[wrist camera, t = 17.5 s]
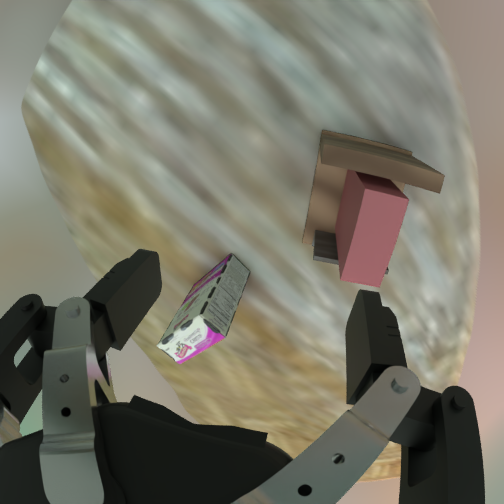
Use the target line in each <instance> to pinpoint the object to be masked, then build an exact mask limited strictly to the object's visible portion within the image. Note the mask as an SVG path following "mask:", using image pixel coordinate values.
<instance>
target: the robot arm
mask: <svg viewBox="0 0 504 504" xmlns="http://www.w3.org/2000/svg"><path fill="white" fill-rule="evenodd" d="M161 288H162V280H161V272H160V263H159V255H158V253H157V252H154V251H149V250H144V249H138V250H137V251H136V252H135V253H134V254H133V255H132V256H131V257H130V258H126V259H124V260H123V261H121V262H119V263H117V264H116V265H115V266H114V267H113V268H112V269H111V270H110V271H109V272H108V273H107V274H106V275H105V276H104V278H102V279H101V280H100V281H99V282H98V283H97V284H96V285H95V286H94V287H93V288H92V289H91V290H90V291H89V292H88V293H87V294H86V295H85V296H84V297H83V298H81V297H73V298H69V299H66V300H65V301H63V302H62V303H60V305H59V306H58V307H51V306H44V304H43V301H42V299H41V297H40V296H39V295H37V294H29V295H25V296H23V297H22V298H20V299H19V300H18V301H17V302H16V303H15V304H14V305H13V306H12V307H11V308H10V309H9V310H8V311H7V312H6V313H5V314H4V316H3V317H2V318H1V319H0V504H336V503H337V502H338V501H339V500H340V499H341V497H343V496H344V495H345V493H346V492H347V491H348V490H349V489H350V488H351V487H352V486H353V485H354V484H355V483H356V482H357V481H358V480H359V478H360V477H361V476H362V475H363V474H364V473H365V472H366V470H367V469H368V468H369V467H370V466H371V465H372V463H373V462H374V461H375V460H376V458H377V457H378V456H379V455H380V453H381V452H382V451H383V450H384V448H385V447H386V446H387V444H388V443H389V441H392V442H395V443H398V444H401V478H400V479H401V480H400V494H399V504H485V487H484V469H483V459H482V449H481V443H480V435H479V428H478V422H477V417H476V411H475V406H474V402H473V399H472V397H471V395H470V394H469V393H468V392H467V391H466V390H465V389H463V388H461V387H459V386H450V387H448V388H446V389H445V390H444V391H443V393H442V394H441V393H438V392H435V391H432V390H429V389H427V388H424V387H422V386H421V385H420V381H419V379H418V377H417V376H416V374H415V373H414V372H412V371H411V370H410V369H408V368H407V363H406V358H405V353H404V349H403V344H402V339H401V338H400V336H401V335H400V331H399V329H398V328H399V327H398V322H397V318H396V316H395V315H394V313H393V312H392V311H391V309H390V308H389V307H384V306H382V302H381V298H380V294H379V292H374V291H367V290H361V289H360V290H359V291H358V294H357V296H356V299H355V302H354V305H353V308H352V310H351V313H350V316H349V318H348V321H347V326H346V334H345V336H346V372H347V402H346V404H352V405H354V406H353V407H352V408H351V409H350V410H347V411H346V412H345V413H344V414H343V415H342V416H341V417H340V418H339V419H338V420H337V421H336V422H335V423H334V424H333V425H332V426H330V427H329V428H328V429H327V430H326V431H325V432H324V433H323V434H322V435H321V436H320V437H319V438H318V439H317V440H316V441H314V442H313V443H312V444H311V445H310V446H309V447H308V448H307V449H305V450H304V451H303V452H302V453H301V454H300V455H298V456H297V457H296V458H295V459H293V458H292V457H290V456H289V455H288V454H287V453H286V452H284V451H283V450H282V449H280V448H279V447H277V446H275V445H273V444H271V443H269V442H267V441H266V439H267V434H268V433H265V432H260V431H255V430H250V429H245V428H240V427H236V426H223V425H200V424H193V423H191V422H189V421H187V420H186V419H184V418H182V417H181V416H179V415H177V414H176V413H174V412H172V411H171V410H169V409H168V408H166V407H164V406H163V405H160V404H157V403H154V402H151V401H148V400H146V399H143V398H141V397H138V396H136V395H134V396H133V398H132V399H131V401H130V403H127V402H117V401H116V398H115V395H114V390H113V385H112V378H111V371H110V364H109V357H108V353H107V351H108V349H109V348H110V347H112V348H115V349H117V350H120V351H121V349H122V348H123V346H124V345H125V344H126V342H127V341H128V339H129V338H130V336H131V335H132V333H133V332H134V331H135V329H136V328H137V326H138V325H139V323H140V322H141V321H142V319H143V318H144V316H145V315H146V314H147V312H148V311H149V309H150V308H151V307H152V305H153V304H154V302H155V301H156V300H157V298H158V297H159V295H160V292H161ZM27 339H28V341H29V342H30V344H31V346H32V348H31V349H30V350H29V352H28V353H27V354H26V356H25V357H24V358H23V360H22V361H21V362H20V364H19V365H18V366H17V368H16V366H15V364H14V356H15V354H16V352H17V351H18V350H19V348H20V347H21V346H22V345H23V343H24V342H25V341H26V340H27ZM41 389H42V417H43V429H42V430H39V431H37V432H34V433H31V434H29V435H26V436H23V437H22V434H21V433H20V432H19V431H20V424H21V422H22V420H23V419H24V417H25V415H26V414H27V412H28V410H29V409H30V407H31V405H32V404H33V402H34V400H35V399H36V397H37V396H38V394H39V393H40V391H41Z"/></svg>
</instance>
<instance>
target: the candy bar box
mask: <svg viewBox="0 0 504 504" xmlns="http://www.w3.org/2000/svg"><path fill="white" fill-rule="evenodd" d="M249 274H250V271H249V270H248V269H247V268H246V267H245V266H244V265H243V264H242V263H241V262H240V261H239V260H238V259H237V258H236V257H235V256H234V255H233V254H230V255H229V256H228V257H226V258H225V259H224V260H223V261H222V262H221V263H219V264H218V265H217V266H216V267H215V268H214V269H212V270H211V271H210V272H209V273H208V274H206V275H205V276H204V277H203V278H202V279H200V280H199V281H198V282H197V283H196V284H194V285H193V287H192V289H191V290H190V292H189V294H188V295H187V297H186V299H185V300H184V302H183V304H182V305H181V307H180V308H179V310H178V312H177V313H176V315H175V316H174V318H173V320H172V322H171V323H170V325H169V327H168V328H167V330H166V331H165V333H164V335H163V337H162V338H161V340H160V342H159V343H158V345H157V346H158V347H159V348H160V349H161V350H162V351H164V352H165V353H166V354H167V355H169V356H170V357H171V358H173V359H174V361H176V362H177V363H179V364H182V363H184V362H185V361H187V360H189V359H191V358H192V357H194V356H196V355H198V354H199V353H201V352H203V351H204V350H206V349H208V348H210V347H211V346H213V345H215V344H216V343H218V342H220V341H222V340H223V339H225V338H226V336H227V333H228V331H229V327H230V325H231V323H232V320H233V317H234V314H235V312H236V309H237V306H238V303H239V301H240V298H241V296H242V293H243V290H244V287H245V285H246V282H247V279H248V277H249Z"/></svg>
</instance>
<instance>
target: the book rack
mask: <svg viewBox="0 0 504 504" xmlns="http://www.w3.org/2000/svg"><path fill="white" fill-rule="evenodd" d="M347 169H349V170H353V171H358V172H362V173H366V174H371V175H375V176H379V177H383V178H387V179H390V180H391V181H392V182H393V183H394V184H395V185H396V186H397V187H398V188H399V189H400V190H401V191H402V193H403V190H404V186H405V184H409V185H413V186H416V187H419V188H423V189H426V190H430V191H433V192H436V193H439V194H440V192H441V188H442V184H443V181H444V177H445V176H444V175H443V174H441V173H440V172H438V171H436V170H435V169H433V168H432V167H430V166H428V165H427V164H425V163H423V162H422V161H420V160H418V159H416V158H415V157H413V156H412V152H411V151H408V150H404V149H401V148H397V147H394V146H390V145H387V144H383V143H379V142H375V141H371V140H367V139H363V138H359V137H354V136H350V135H345V134H341V133H336V132H331V131H326V130H322V134H321V140H320V147H319V153H318V159H317V165H316V171H315V177H314V182H313V188H312V194H311V199H310V204H309V210H308V215H307V220H306V225H305V231H304V236H303V241H302V243H306V244H311V245H312V246H314V255H313V260H316V261H322V262H327V263H332V264H337V265H339V261H338V251H337V242H336V233H335V224H336V220H337V216H338V211H339V207H340V203H341V198H342V193H343V189H344V184H345V179H346V174H347ZM388 271H389V270H388V267H387V269H386V272H385V274H388Z"/></svg>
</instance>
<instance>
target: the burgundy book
mask: <svg viewBox="0 0 504 504" xmlns="http://www.w3.org/2000/svg"><path fill="white" fill-rule="evenodd" d="M408 202H409V199H408V198H407V197H406V196H405V195H404V194H403V193H402V191H401V190H400V189H399V188H398V187H397V186H396V185H395V184H394V183H393V182H392V181H391V180H390V179H387V178H383V177H379V176H375V175H371V174H366V173H362V172H358V171H353V170H349V169H347V174H346V179H345V184H344V189H343V193H342V198H341V203H340V207H339V211H338V216H337V220H336V224H335V233H336V242H337V251H338V261H339V271H340V280H343V281H348V282H353V283H359V284H364V285H369V286H374V287H380V285H381V282H382V279H383V277H384V274H385V272H386V269H387V266H388V263H389V261H390V258H391V255H392V252H393V249H394V246H395V244H396V241H397V238H398V234H399V231H400V228H401V225H402V222H403V219H404V215H405V212H406V209H407V205H408Z"/></svg>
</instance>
